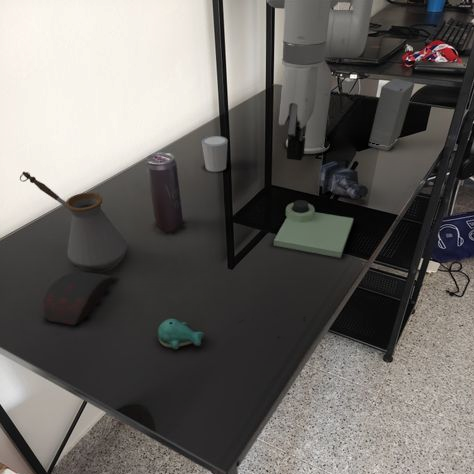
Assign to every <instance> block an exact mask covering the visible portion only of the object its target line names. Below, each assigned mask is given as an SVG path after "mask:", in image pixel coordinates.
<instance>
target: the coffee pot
mask: <svg viewBox="0 0 474 474" xmlns="http://www.w3.org/2000/svg"><path fill="white" fill-rule="evenodd" d="M23 176H24V177H25V178H26V179H24V180H22V177H23ZM19 180H20V182H23V183H24V182H26V181H28V180H29V182H30V183H31V184H34V185H35V186H36V188H38V189H39V190H40V191H42V192H43V193H44V194H46V195H48V196H49V197H50V198H52V199H53V200H55V201H56V202H58V203H60V204H61V205H62V206H63V207H64V208H66V209H67V210H69V211H70V212H71V214H72V215H71V221H70V222H71V223H70V230H69V237H68V245H67V252H66V254H67V257H68V259H69V261H71V263H72V264H74V266H75V267H78V268H80V269H82V270H85V271H88V272H90V273H102V272H106V271H109V270H112V269H113V268H115V267H117V266H118V265H119V263H120V262H121V261H122V260H123V259H124V257H125V256H126V253H127V251H128V250H127V249H128V243H127V241H126V239H125V238H124V236H123V235H122V234H121V232H120V231H119V230H118V229H117V227H116V226H115V225H114V224H113V222H112V221H111V220H110V219H109V217H108V216H107V214H106V213H105V212H104V211H103V210H102V208H101V207H102V206H101V204H102V203H103V197H102V196H101V195H100V194H99V192H81V193H78V194H74V195H72V196H70V197H68V198H67V200H64V199H62V198H61V197H60V196H59V195H58V194H57V193H55V192H54V191H53V190H52V189H51V188H49V186H47V185H46V184H45V183H43V182H41V181H40V180H37V178H36V176H32V175H31V173H29V172H27V171H22V173H21V175H20V176H19Z"/></svg>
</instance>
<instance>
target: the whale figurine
mask: <svg viewBox="0 0 474 474" xmlns="http://www.w3.org/2000/svg"><path fill="white" fill-rule="evenodd" d="M157 329H158V330H157V337H158V338H157V339H158V341H159V342H160V344H161V345H162V346H164V347H166V348H172V349H174V350H177V349H179V347H183V346H187V345H191V344H193V345H195V346H197V347H199V346H201V344H202V339H203V338H204V337H205V333H204V332H203V331H193V329H191V328H190V327H189V324H188V322H186V321H184V322H181V321H180V320H178V319H176V318H168V319H165V320H164V321H163V322H162V323H160V325H159V326H158V328H157Z"/></svg>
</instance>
